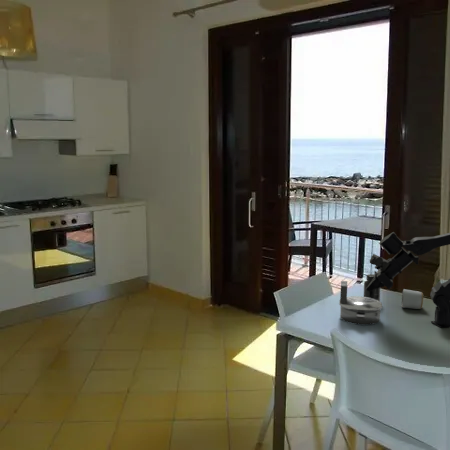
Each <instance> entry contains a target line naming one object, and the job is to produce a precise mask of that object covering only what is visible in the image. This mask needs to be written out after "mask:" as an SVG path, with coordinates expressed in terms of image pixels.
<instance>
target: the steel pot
mask: <svg viewBox="0 0 450 450" xmlns="http://www.w3.org/2000/svg"><path fill="white" fill-rule="evenodd" d="M339 317H340V319H341V320H342V321H343V322H346V323H349V324H353V325H354V324H355V325H362V326H366V325H367V326H368V325H375V324H378V323H380V321H381V309H380V310H377V311H370V312H363V311H354V310H349V309H346V308H343V307H342V306H340V313H339Z"/></svg>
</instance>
